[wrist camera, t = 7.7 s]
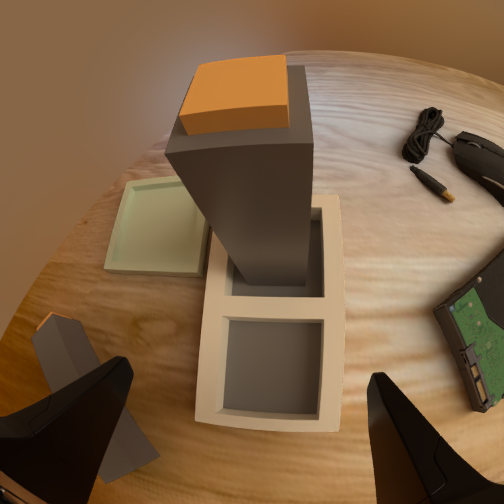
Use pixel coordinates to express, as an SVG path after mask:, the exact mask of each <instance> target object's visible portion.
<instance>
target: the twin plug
mask: <svg viewBox="0 0 504 504" xmlns="http://www.w3.org/2000/svg"><path fill="white" fill-rule="evenodd" d="M36 329H37V332H36V333H35V334H34V335H33V336H32V338H31V339H32V342H33V345H34V348H35V351H36V354H37V357H38V360H39V362H40V365H41V368H42V370H43V373H44V375H45V378H46V380H47V383H48V385H49V387H50V389H51V392H52V394H53V393H55V392H56V391H58V390H60V389H62V388H63V387H65V386H67V385H68V384H70V383H72V382H74V381H75V380H77V379H79V378H80V377H82V376H84V375H85V374H87V373H89V372H90V371H92V370H94V369H96V368H97V367H99V366H101V364H100V362H99V360H98V358H97V356H96V355H95V353H94V351H93V348H92V346H91V344H90V342H89V340H88V338H87V336H86V334H85V332H84V329H83V327H82V325H81V323H80V321H77V320H73V319H72V318H71V317H68V316H64V315H61V314H58V313H55V312H52V311H51V312H50V313H49V314H48V315H47V317H46V318H45V319H44V320H43V321H42V322H41V324H40V325H39V326H38V327H37V328H36ZM159 456H160V455H159V454H158V452H157V451H156V450H155V448H154V447H153V446H152V445H151V443H150V442H149V441H148V439H147V438H146V436H145V435H144V434H143V432H142V431H141V429H140V428H139V427H138V425H137V424H136V422H135V421H134V419H133V418H132V416H131V415H130V413H129V412H128V410H127V409H126V407H125V406H124V408H123V411H122V413H121V416H120V418H119V421H118V423H117V425H116V428H115V430H114V433H113V435H112V438H111V440H110V443H109V445H108V448H107V450H106V453H105V455H104V458H103V461H102V463H101V466H100V469H99V471H98V474H99V475H100V477H101V478H102V480H103V481H104V482H105V484H107V483H109V482H111V481H113V480H115V479H118V478H120V477H122V476H124V475H126V474H128V473H130V472H132V471H134V470H136V469H138V468H139V467H141V466H143V465H145V464H147V463H149V462H150V461H152V460H154V459H156V458H157V457H159Z"/></svg>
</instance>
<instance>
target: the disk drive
mask: <svg viewBox="0 0 504 504" xmlns="http://www.w3.org/2000/svg"><path fill="white" fill-rule="evenodd" d="M433 313H434V315H435V317H436V319H437V321H438V323H439V325H440V327H441V329H442V331H443V333H444V336H445V338H446V340H447V342H448V345H449V347H450V349H451V352H452V354H453V356H454V358H455V360H456V363H457V365H458V368H459V371H460V373H461V376H462V379H463V381H464V384H465V387H466V389H467V392H468V395H469V398H470V401H471V404H472V407H473V410H474V411H477V412H481V413H485V412H486V411H487V410H488V409H489V408H490V407H492V406H493V407H494V406H495V405H496V404H497V403H498V402H499V401H500V400H501V399H503V398H504V248H503V250H502V251H501V252H500V253H499V254H498V255H497V256H496V257H495V258H493V259H492V260H491V261H490V262H489V263H488V264H487V265H486V266H485V267H484V268H483V269H482V270H480V271H479V273H478V274H476V275H475V276H474V277H473V278H472V279H471V280H469V281H468V282H467V283H466V284H465V285H464V286H462V287H461V288H460V289H458V290H456V291H455V292H454V293H453V294H451V295H450V296H449V298H448V299H446V300H445V301H444V302H442V303H441V304H440V305H438V306H437V307H436V308H434V310H433Z"/></svg>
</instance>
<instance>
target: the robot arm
mask: <svg viewBox="0 0 504 504" xmlns="http://www.w3.org/2000/svg"><path fill="white" fill-rule="evenodd" d="M133 376H134V373H133V370H132V368H131V365H130V363H129V361H128V359H127V358H126V357H122V356H116V357H114V358H112V359H111V360H109V361H107V362H106V363H104V364H102V365H101V366H99V367H97V368H96V369H94V370H92V371H90V372H89V373H87V374H85V375H84V376H82V377H80V378H79V379H77V380H75V381H74V382H72V383H70V384H68V385H67V386H65V387H63V388H62V389H60V390H58V391H56V392H55V393H53V394H52V395H49V396H48V397H46V398H44V399H42V400H40V401H39V402H37V403H35V404H33V405H31V406H29V407H26V408H24V409H22V410H20V411H17V412H15V413H13V414H10V415H8V416H4V417H0V504H87V503H88V500H89V497H90V494H91V491H92V488H93V484H94V482H95V479H96V477H97V474H98V471H99V469H100V466H101V463H102V461H103V458H104V455H105V453H106V450H107V448H108V445H109V443H110V440H111V438H112V435H113V433H114V430H115V428H116V425H117V423H118V421H119V418H120V416H121V413H122V411H123V408H124V406H125V403H126V399H127V396H128V393H129V389H130V386H131V383H132V380H133ZM367 404H368V429H369V438H370V445H371V452H372V460H373V468H374V477H375V486H376V497H377V504H504V485H503V484H497V483H494V482H491V481H489V480H487V479H486V478H484V477H483V476H482V475H481V474H480V473H479V472H477V471H476V470H475V469H474V468H473V467H472V466H471V465H469V464H468V463H467V462H466V461H465V460H464V459H463V458H462V457H461V456H459V455H458V454H457V453H456V452H455V451H454V450H453V449H452V447H451V446H450V445H449V444H448V443H447V442H446V441H445V440H444V439H443V437H442V436H440V434H439V433H438V432H437V431H436V430H435V428H434V427H433V426H432V425H431V424H430V423H429V422H428V421H427V419H426V418H425V417H424V416H423V415H422V414H421V413H420V411H419V410H418V409H417V408H416V407H415V406H414V405H413V404H412V402H411V401H410V400H409V399H408V398H407V397H406V396H405V395H404V394H403V392H402V391H401V390H400V389H399V388H398V387H397V386H396V385H395V383H394V382H393V381H392V380H391V379H390V378H389V377H388V376H387V375H386V374H385V373H384V372H376V373H373V374H372V376H371V378H370V382H369V385H368V388H367Z"/></svg>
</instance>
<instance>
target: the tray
mask: <svg viewBox="0 0 504 504" xmlns="http://www.w3.org/2000/svg"><path fill="white" fill-rule="evenodd" d="M209 228H210V225H209V224H208V222H207V220H206V219H205V217H204V216H203V214H202V213H201V211H200V210H199V208H198V206H197V205H196V203H195V202H194V200H193V199H192V197H191V195H190V194H189V192H188V191H187V189H186V188H185V186H184V184H183V183H182V181H181V180H180V178H179V176H178V175H176V176H167V177H159V178H151V179H143V180H136V181H129V182H127V184H126V187H125V190H124V193H123V197H122V200H121V203H120V206H119V210H118V213H117V217H116V220H115V224H114V227H113V231H112V235H111V239H110V243H109V247H108V251H107V255H106V260H105V264H104V270H106V271H108V272H110V273H112V274H129V275H149V276H172V277H199V278H203V273H204V265H205V257H206V250H207V242H208V235H209Z"/></svg>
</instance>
